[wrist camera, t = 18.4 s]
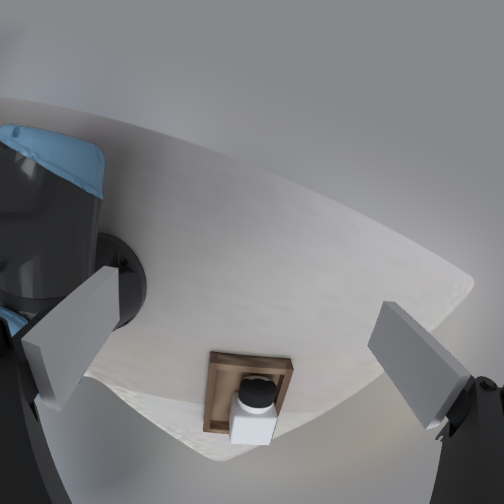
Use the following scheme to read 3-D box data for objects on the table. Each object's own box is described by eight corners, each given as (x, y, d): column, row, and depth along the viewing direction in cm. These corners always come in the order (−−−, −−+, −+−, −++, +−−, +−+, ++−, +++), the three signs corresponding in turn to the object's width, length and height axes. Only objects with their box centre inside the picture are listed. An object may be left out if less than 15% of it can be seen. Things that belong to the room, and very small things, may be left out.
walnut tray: (203, 420, 49) (202, 431, 46) (210, 351, 44) (209, 362, 41) (269, 425, 50) (271, 435, 47) (290, 358, 45) (293, 369, 42)
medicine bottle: (270, 445, 41) (284, 396, 39) (229, 444, 40) (238, 393, 38) (265, 420, 48) (277, 372, 46) (228, 418, 47) (236, 369, 45)
